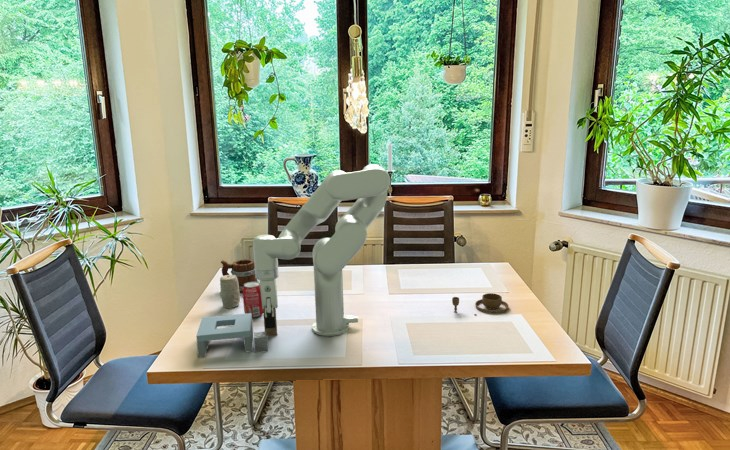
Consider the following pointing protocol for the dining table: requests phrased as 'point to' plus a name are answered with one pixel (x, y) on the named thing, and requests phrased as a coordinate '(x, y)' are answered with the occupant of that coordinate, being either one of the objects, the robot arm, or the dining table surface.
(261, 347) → the short pin
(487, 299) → the place setting
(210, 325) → the board
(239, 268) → the mug
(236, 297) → the carving
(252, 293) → the soda can
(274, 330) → the long pin
